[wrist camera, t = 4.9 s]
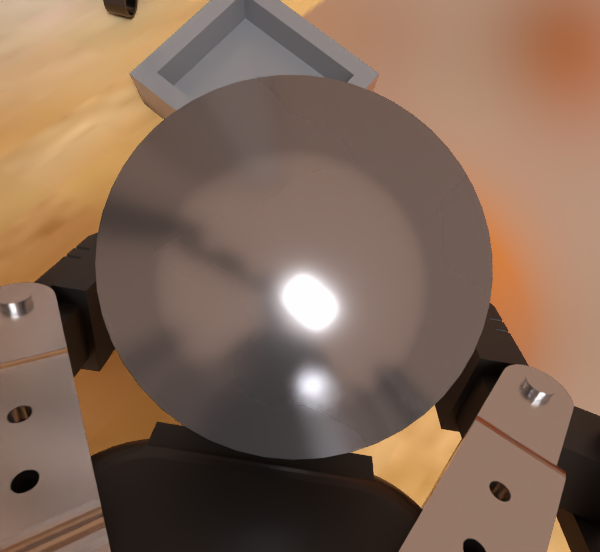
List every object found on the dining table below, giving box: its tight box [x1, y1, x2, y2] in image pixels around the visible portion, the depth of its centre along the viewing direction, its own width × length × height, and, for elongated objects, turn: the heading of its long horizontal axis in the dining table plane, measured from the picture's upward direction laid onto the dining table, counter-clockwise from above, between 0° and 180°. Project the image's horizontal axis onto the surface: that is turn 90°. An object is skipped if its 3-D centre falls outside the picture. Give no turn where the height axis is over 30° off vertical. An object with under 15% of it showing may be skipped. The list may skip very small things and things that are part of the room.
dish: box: [130, 0, 379, 120], centre depth 23 cm, size 10×9×2 cm
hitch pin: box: [95, 75, 492, 460], centre depth 11 cm, size 4×4×13 cm
